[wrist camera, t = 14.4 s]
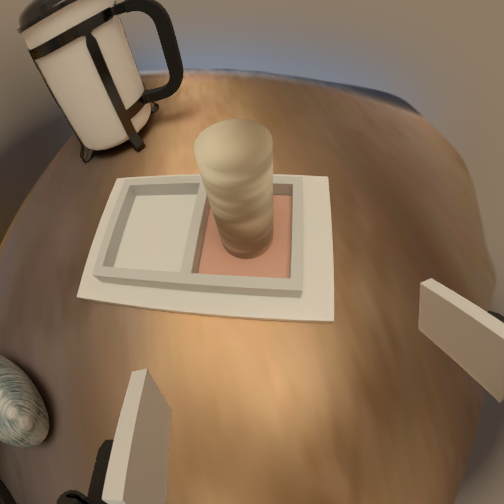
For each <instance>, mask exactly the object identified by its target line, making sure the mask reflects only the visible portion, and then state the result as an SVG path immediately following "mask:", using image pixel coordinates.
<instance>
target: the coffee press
mask: <svg viewBox="0 0 504 504" xmlns="http://www.w3.org/2000/svg"><path fill="white" fill-rule="evenodd" d="M131 11H141V12H144V13H146V14H148V15H149V16H150V17H151V18H152V19H153V21H154V23H155V25H156V28H157V32H158V35H159V38H160V42H161V45H162V49H163V52H164V56H165V59H166V62H167V66H168V70H169V74H170V79H169V82H168V83H167V84H166V85H164V86H162V87H159V88H155V89H151V90H146V88H145V85H144V83H143V82H142V80H141V77H140V74H139V72H138V69H137V66H136V63H135V61H134V58H133V55H132V52H131V49H130V46H129V43H128V41H127V38H126V35H125V32H124V29H123V26H122V23H121V20H120V17H119V15H118V14H121V13H124V12H127V13H128V12H131ZM17 31H18V33H20V35H23V37H24V40H25V41H26V43H27V45H28V47H29V49H28V51H29V53H30V55H31V57H32V59H33V61H34V63H35V65H36V67H37V69H38V71H39V73H40V75H41V77H42V79H43V80H44V82H45V84H46V86H47V88H48V90H49V91H50V93H51V95H52V97H53V98H54V100H55V102H56V104H57V105H58V107H59V109H60V110H61V112H62V114H63V116H64V117H65V119H66V121H67V122H68V124H69V126H70V127H71V129H72V131H73V132H74V134H75V135H76V137H77V139H78V140H79V142H80V145H81V151H80V157H81V159H82V160H83V161H84V162H88V161H90V159H91V157H92V154H93V151H94V150H105V149H109V148H112V147H115V146H117V145H120V144H122V143H124V142H125V141H128V142H129V143H130V144H131V145H132V147H133V148H134V149H135V150H136V151H137V152H138V151H139V150H140V149H142V148H143V147H144V146H145V144H144V142H143V141H142V139H141V138H140V137H139V135H138V134H137V133H138V132H139V131H140V130H141V129H142V128H143V126H144V125H145V124H146V122H147V121H148V119H149V116H150V113H151V112H156V111H157V110H158V109H159V105H158V104H156V103H154V101H158V100H161V99H164V98H167V97H169V96H171V95H173V94H174V93H175V92H176V91H177V90H178V88H179V87H180V85H181V82H182V79H183V65H182V60H181V56H180V52H179V48H178V44H177V40H176V36H175V33H174V29H173V26H172V22H171V20H170V17H169V15H168V13H167V11H166V10H165V8H164V7H163V6H162V5H161V4H159V3H158V2H157V1H155V0H125V1H124V2H121V3H118V4H117V3H116V1H114V0H33V1H32V2H30V3H29V4H28V5H27V6H26V7H25V8H24V10H23V11H22V13H21V14H20V17H19V28H18V29H17ZM35 61H36V62H35ZM36 63H37V64H36ZM37 65H38V66H37ZM43 76H44V77H43ZM44 78H45V79H44ZM45 80H46V81H45ZM46 82H47V83H46ZM49 87H50V88H49ZM50 89H51V90H50ZM51 91H52V92H51ZM54 96H55V97H54ZM55 98H56V99H55ZM149 102H152V103H154V107H153V109H151V106H150V103H149ZM58 103H59V104H58ZM59 105H60V106H59ZM62 110H63V111H62ZM63 112H64V113H63ZM65 115H66V116H65ZM66 117H67V118H66ZM68 120H69V121H68ZM69 122H70V123H69ZM71 125H72V126H71ZM72 127H73V128H72ZM74 130H75V131H74ZM75 132H76V133H75ZM77 135H78V136H77ZM78 137H79V138H80V139H79V138H78ZM80 140H81V141H82V143H83V144H84V145H85V146H86V147H87V148H89V149H90V150H89V153H88V156H87V157H86V158H83V156H84V146H83V144H82V143H81V141H80Z"/></svg>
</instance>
